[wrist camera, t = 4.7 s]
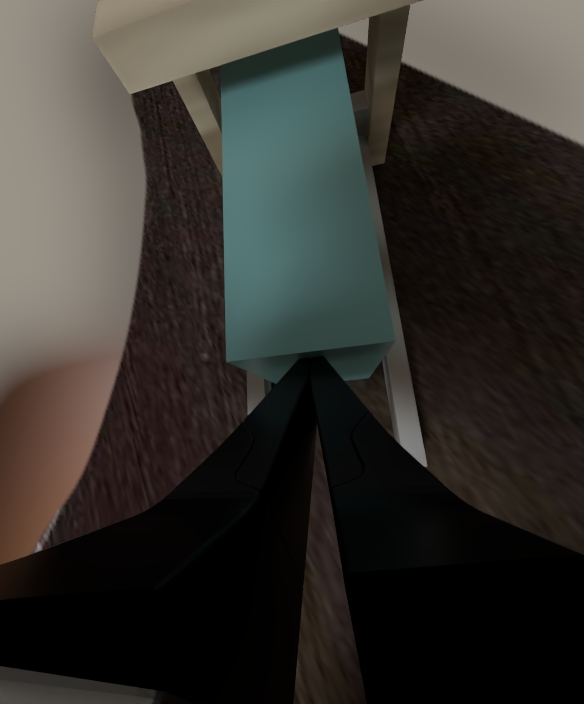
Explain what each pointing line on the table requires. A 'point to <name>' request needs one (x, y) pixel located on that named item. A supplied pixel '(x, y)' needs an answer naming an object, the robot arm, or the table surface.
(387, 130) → the seat bridge
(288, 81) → the teal shell
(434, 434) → the table surface
